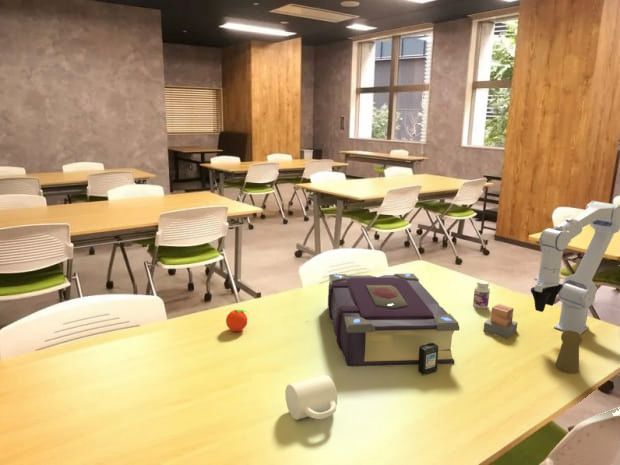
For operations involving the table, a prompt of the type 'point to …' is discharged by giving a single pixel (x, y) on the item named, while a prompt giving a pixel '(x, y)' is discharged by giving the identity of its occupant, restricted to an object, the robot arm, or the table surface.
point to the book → (387, 320)
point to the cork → (569, 352)
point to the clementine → (236, 320)
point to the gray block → (500, 329)
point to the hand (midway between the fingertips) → (544, 307)
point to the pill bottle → (481, 295)
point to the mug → (312, 398)
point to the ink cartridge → (428, 358)
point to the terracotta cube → (502, 314)
